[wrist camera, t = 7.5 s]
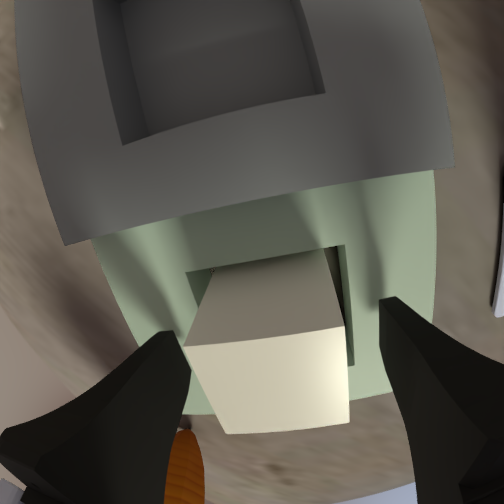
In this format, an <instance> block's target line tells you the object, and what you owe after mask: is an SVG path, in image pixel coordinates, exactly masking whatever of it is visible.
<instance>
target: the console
mask: <svg viewBox="0 0 504 504" xmlns="http://www.w3.org/2000/svg"><path fill="white" fill-rule="evenodd" d="M15 33H16V47H17V58H18V67H19V75H20V82H21V89H22V95H23V101H24V107H25V112H26V117H27V122H28V127H29V132H30V136H31V140H32V145H33V149H34V153H35V157H36V160H37V164H38V168H39V171H40V175H41V178H42V182H43V185H44V188H45V191H46V195H47V198H48V201H49V204H50V207H51V210H52V213H53V216H54V219H55V221H56V224H57V227H58V230H59V232H60V235H61V238H62V240H63V243H64V245H65V246H67V245H70V244H74V243H77V242H81V241H84V240H88V239H91V241H92V244H93V246H94V249H95V251H96V254H97V256H98V259H99V261H100V264H101V266H102V269H103V271H104V273H105V276H106V278H107V280H108V283H109V285H110V287H111V290H112V292H113V294H114V296H115V298H116V301H117V303H118V305H119V307H120V309H121V311H122V313H123V316H124V318H125V320H126V322H127V324H128V326H129V328H130V330H131V332H132V334H133V336H134V338H135V340H136V342H137V344H138V346H139V347H140V346H142V345H143V344H144V343H145V342H146V341H147V340H148V339H150V338H151V337H152V336H153V335H155V334H156V333H157V332H159V331H168V330H173V331H174V333H175V335H176V337H177V340H178V342H179V344H180V346H181V348H182V351H183V353H184V355H185V357H186V359H187V361H188V363H189V366H190V368H191V370H192V373H191V380H190V386H189V392H188V396H187V400H186V403H185V406H184V409H183V413H182V414H215V412H214V410H213V408H212V406H211V404H210V402H209V400H208V398H207V396H206V394H205V392H204V390H203V388H202V386H201V384H200V382H199V380H198V378H197V376H196V374H195V372H194V370H193V368H192V366H191V363H190V361H189V359H188V357H187V355H186V353H185V350H184V348H183V345H184V343H185V340H186V338H187V335H188V333H189V330H190V328H191V326H192V323H193V321H194V318H195V316H196V313H197V311H198V309H199V306H200V304H201V301H202V299H203V297H204V294H205V292H206V289H207V287H208V285H209V282H210V280H211V278H212V275H211V272H210V269H209V268H213V267H219V266H225V265H230V264H236V263H242V262H248V261H253V260H259V259H265V258H270V257H276V256H282V255H287V254H293V253H299V252H304V251H310V250H315V249H321V248H327V247H332V246H337V249H338V257H339V265H340V273H341V282H342V291H343V301H344V311H345V322H346V329H345V339H346V353H347V370H348V391H349V400H355V399H360V398H365V397H370V396H375V395H379V394H384V393H388V392H393V390H392V387H391V385H390V382H389V379H388V377H387V374H386V371H385V368H384V364H383V360H382V356H381V352H380V348H379V299H383V298H388V297H393V296H396V297H398V298H399V299H400V300H402V301H403V302H404V303H405V304H407V305H408V306H409V307H410V308H412V309H413V310H414V311H415V312H417V313H418V314H419V315H421V316H422V317H423V318H424V319H426V320H427V321H428V322H430V323H431V324H432V316H433V306H434V293H435V276H436V202H435V185H434V172H433V170H437V169H445V168H453V167H455V162H454V151H453V142H452V133H451V126H450V119H449V112H448V106H447V100H446V95H445V90H444V85H443V80H442V75H441V71H440V66H439V62H438V58H437V54H436V50H435V47H434V43H433V39H432V36H431V33H430V29H429V26H428V23H427V20H426V17H425V14H424V11H423V8H422V5H421V2H420V0H15Z"/></svg>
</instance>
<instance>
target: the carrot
mask: <svg viewBox="0 0 504 504" xmlns="http://www.w3.org/2000/svg"><path fill="white" fill-rule="evenodd" d="M204 496H205V485H204V466H203V461H202V456H201V451H200V448H199V445H198V442H197V439H196V436H195V435H194V433H193V432H192V431H191V430H190V429H184V430H181V431H179V432H177V433H176V435H175V438H174V441H173V445H172V449H171V453H170V459H169V465H168V470H167V478H166V486H165V496H164V504H204Z"/></svg>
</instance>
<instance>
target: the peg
mask: <svg viewBox="0 0 504 504" xmlns="http://www.w3.org/2000/svg"><path fill="white" fill-rule="evenodd" d="M183 348H184V350H185V353H186V355H187V357H188V359H189V361H190V363H191V366H192V368H193V370H194V372H195V374H196V376H197V378H198V380H199V382H200V384H201V386H202V388H203V390H204V392H205V394H206V396H207V398H208V400H209V402H210V404H211V406H212V408H213V410H214V412H215V414H216V416H217V418H218V420H219V421H220V423H221V425H222V427H223V429H224V431H225V433H226V434H245V433H264V432H278V431H289V430H299V429H308V428H316V427H323V426H330V425H336V424H342V423H348V422H349V391H348V370H347V353H346V339H345V326H344V322H343V318H342V314H341V310H340V307H339V303H338V299H337V295H336V292H335V288H334V284H333V281H332V277H331V273H330V270H329V266H328V263H327V259H326V256H325V252H324V249H323V248H321V249H315V250H310V251H304V252H299V253H293V254H287V255H282V256H276V257H270V258H265V259H259V260H253V261H248V262H242V263H236V264H230V265H225V266H219V267H216V268H215V271H214V273H213V275H212V278H211V280H210V282H209V285H208V287H207V289H206V292H205V294H204V297H203V299H202V301H201V304H200V306H199V309H198V311H197V313H196V316H195V318H194V321H193V323H192V326H191V328H190V330H189V333H188V335H187V338H186V340H185V343H184V345H183Z"/></svg>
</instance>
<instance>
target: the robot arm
mask: <svg viewBox="0 0 504 504" xmlns="http://www.w3.org/2000/svg"><path fill="white" fill-rule="evenodd" d="M492 313H493V314H494V315H495V317H501V316H504V205H503V228H502V241H501V252H500V261H499V269H498V276H497V283H496V289H495V295H494V301H493V306H492ZM379 348H380V352H381V356H382V360H383V364H384V368H385V371H386V374H387V377H388V379H389V382H390V385H391V387H392V390H393V393H394V395H395V398H396V401H397V403H398V406H399V409H400V412H401V415H402V417H403V420H404V424H405V427H406V431H407V435H408V440H409V445H410V450H411V456H412V462H413V468H414V475H415V483H416V491H417V502H418V504H504V364H502V363H499V362H497V361H495V360H492V359H490V358H488V357H486V356H483V355H481V354H479V353H478V352H476V351H474V350H472V349H470V348H468V347H466V346H465V345H463V344H461V343H459V342H458V341H456V340H455V339H453V338H452V337H450V336H448V335H447V334H445V333H444V332H442V331H441V330H440V329H438V328H437V327H435V326H434V325H432V324H431V323H430V322H428V321H427V320H426V319H424V318H423V317H422V316H421V315H419V314H418V313H417V312H415V311H414V310H413V309H412V308H410V307H409V306H408V305H407V304H405V303H404V302H403V301H402V300H400V299H399V298H398V297H396V296H393V297H388V298H383V299H379ZM191 373H192V370H191V368H190V366H189V363H188V361H187V359H186V357H185V355H184V353H183V351H182V348H181V346H180V344H179V342H178V340H177V337H176V335H175V333H174V331H173V330H168V331H159V332H157V333H156V334H155V335H153V336H152V337H151V338H150V339H148V340H147V341H146V342H145V343H144V344H143V345H142V346H140V347H139V348H138V349H137V350H136V351H135V352H134V353H133V354H132V355H130V356H129V357H128V358H127V359H126V360H125V361H124V362H123V363H121V364H120V365H119V366H118V367H117V368H116V369H114V370H113V371H112V372H111V373H110V374H108V375H107V376H106V377H105V378H103V379H102V380H101V381H100V382H98V383H97V384H96V385H94V386H93V387H92V388H90V389H89V390H87V391H86V392H84V393H83V394H81V395H80V396H78V397H77V398H75V399H74V400H72V401H70V402H69V403H66V404H65V405H63V406H61V407H60V408H58V409H56V410H54V411H52V412H50V413H48V414H45V415H43V416H41V417H38V418H36V419H33V420H31V421H28V422H25V423H22V424H19V425H16V426H12V427H9V428H6V429H5V430H4V431H3V433H2V434H1V436H0V463H1V464H2V465H3V466H4V467H5V468H6V469H7V470H9V471H10V472H11V473H12V474H13V475H14V476H15V477H16V478H18V479H19V480H20V481H21V482H22V483H24V484H25V485H26V486H27V487H26V489H25V491H23V490H22V489H20V488H19V487H17V486H16V485H14V484H12V483H10V482H8V481H7V480H5V479H1V480H0V504H164V496H165V486H166V478H167V470H168V465H169V459H170V453H171V449H172V445H173V441H174V438H175V435H176V431H177V428H178V425H179V422H180V419H181V416H182V413H183V409H184V406H185V403H186V400H187V396H188V392H189V386H190V380H191Z"/></svg>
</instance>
